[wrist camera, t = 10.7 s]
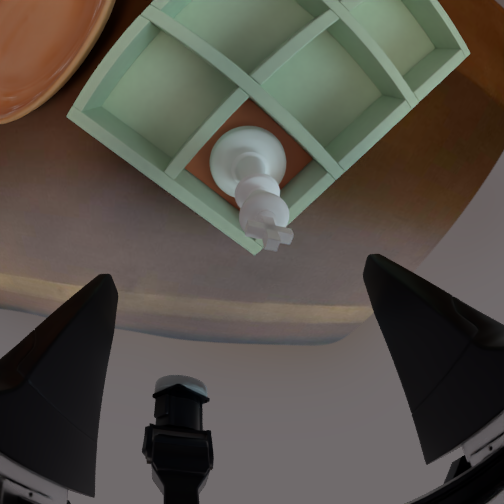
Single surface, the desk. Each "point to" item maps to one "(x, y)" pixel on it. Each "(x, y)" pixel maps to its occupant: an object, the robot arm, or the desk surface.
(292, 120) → the compartment tray
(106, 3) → the saucer
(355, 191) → the desk surface
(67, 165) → the desk surface
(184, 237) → the desk surface
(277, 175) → the chess piece
